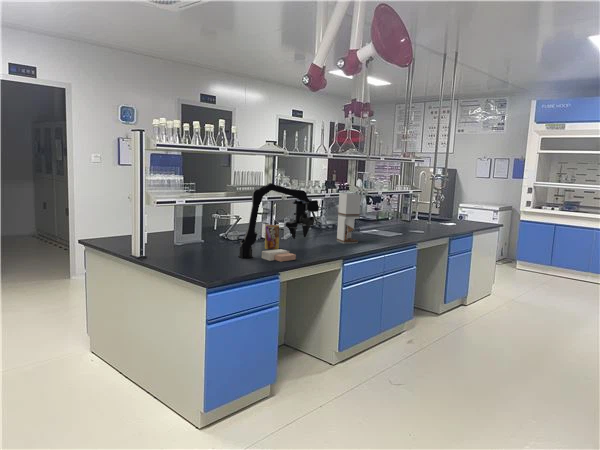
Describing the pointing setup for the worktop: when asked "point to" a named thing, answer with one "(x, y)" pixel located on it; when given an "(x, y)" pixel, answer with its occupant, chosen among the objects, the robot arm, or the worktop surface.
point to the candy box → (272, 237)
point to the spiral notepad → (272, 254)
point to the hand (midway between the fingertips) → (299, 238)
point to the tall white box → (347, 216)
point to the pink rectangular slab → (285, 257)
